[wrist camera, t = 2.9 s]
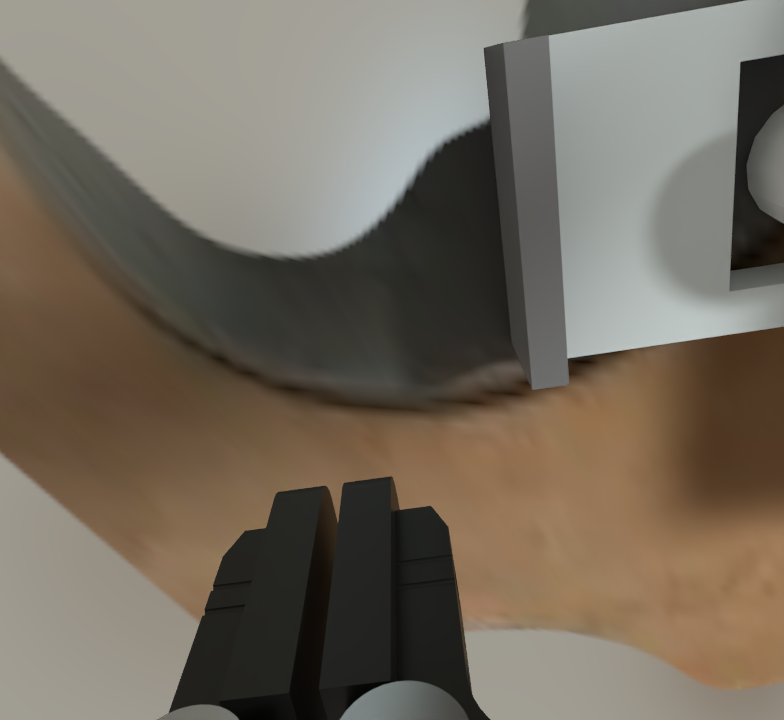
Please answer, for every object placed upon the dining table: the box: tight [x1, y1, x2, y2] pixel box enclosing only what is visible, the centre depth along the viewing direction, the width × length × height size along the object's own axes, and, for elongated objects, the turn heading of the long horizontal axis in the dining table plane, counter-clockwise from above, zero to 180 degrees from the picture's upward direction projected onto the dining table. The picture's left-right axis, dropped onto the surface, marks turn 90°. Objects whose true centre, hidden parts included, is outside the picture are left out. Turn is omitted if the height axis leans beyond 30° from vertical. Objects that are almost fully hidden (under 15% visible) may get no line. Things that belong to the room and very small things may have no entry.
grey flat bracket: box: [484, 0, 784, 390], centre depth 26 cm, size 20×13×5 cm, turn 99°
